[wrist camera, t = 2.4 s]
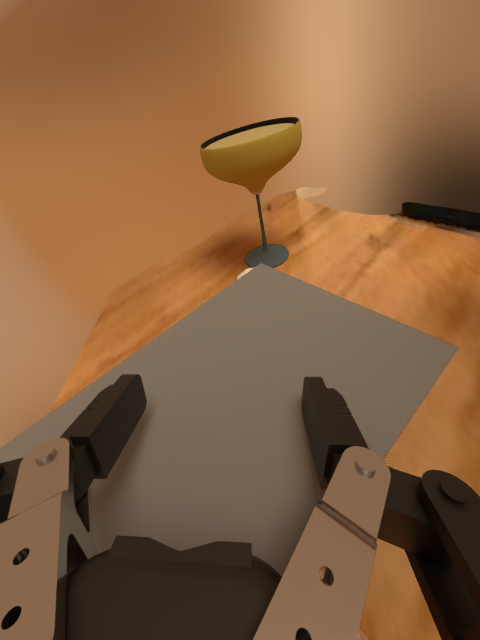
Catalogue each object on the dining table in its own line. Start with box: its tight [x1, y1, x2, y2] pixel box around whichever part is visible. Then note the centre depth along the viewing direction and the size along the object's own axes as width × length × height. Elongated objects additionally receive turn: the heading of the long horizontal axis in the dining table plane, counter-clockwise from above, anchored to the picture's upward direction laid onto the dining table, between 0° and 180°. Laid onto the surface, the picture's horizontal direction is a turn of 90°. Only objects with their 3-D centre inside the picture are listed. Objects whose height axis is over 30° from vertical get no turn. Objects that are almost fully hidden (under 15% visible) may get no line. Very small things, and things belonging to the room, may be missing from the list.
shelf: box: [0, 263, 459, 576], centre depth 19 cm, size 14×27×20 cm, turn 131°
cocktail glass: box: [200, 117, 302, 268], centre depth 49 cm, size 18×18×25 cm
